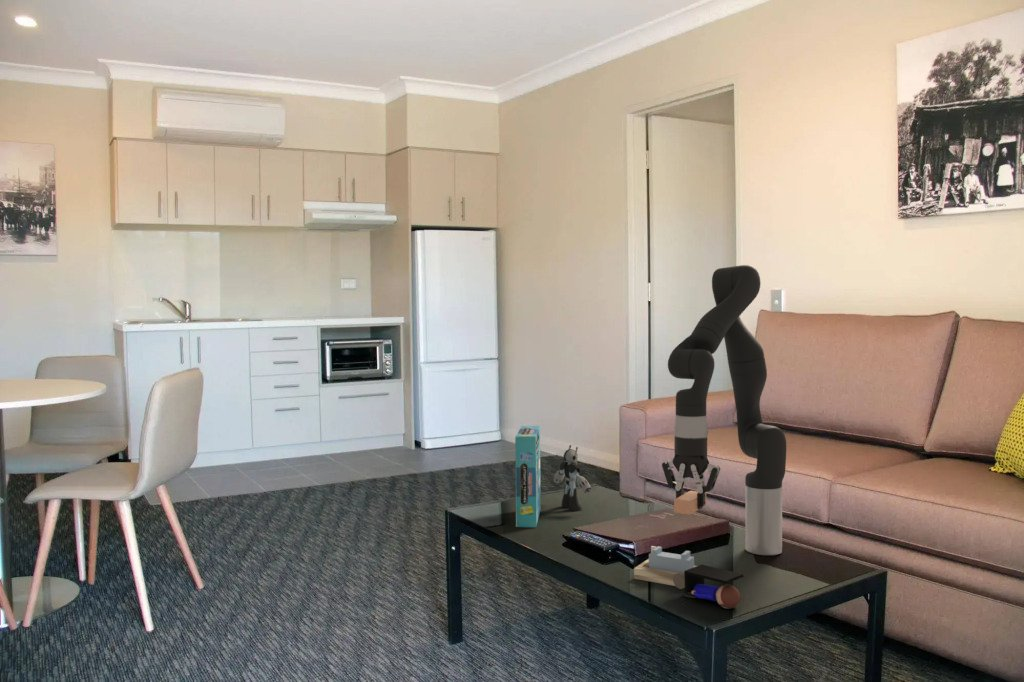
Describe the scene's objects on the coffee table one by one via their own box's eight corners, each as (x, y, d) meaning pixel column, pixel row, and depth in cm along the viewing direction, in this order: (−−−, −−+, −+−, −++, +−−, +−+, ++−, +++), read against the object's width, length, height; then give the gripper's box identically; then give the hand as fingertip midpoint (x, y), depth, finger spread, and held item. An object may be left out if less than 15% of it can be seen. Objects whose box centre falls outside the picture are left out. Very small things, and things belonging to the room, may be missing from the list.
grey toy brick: (654, 568, 203) (654, 544, 203) (694, 575, 198) (694, 550, 198) (648, 572, 201) (648, 548, 200) (689, 579, 195) (688, 554, 195)
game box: (521, 510, 267) (520, 425, 266) (541, 510, 267) (540, 425, 266) (515, 527, 247) (514, 436, 246) (537, 527, 246) (535, 436, 245)
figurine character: (672, 602, 187) (728, 613, 176) (669, 568, 188) (725, 576, 176) (692, 596, 192) (748, 606, 180) (688, 562, 192) (744, 570, 180)
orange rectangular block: (690, 502, 202) (690, 490, 202) (706, 504, 200) (706, 492, 200) (673, 512, 193) (674, 499, 193) (690, 514, 191) (690, 501, 191)
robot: (548, 503, 277) (548, 442, 276) (561, 501, 279) (560, 441, 278) (582, 515, 260) (581, 451, 259) (595, 513, 262) (594, 449, 261)
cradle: (649, 568, 207) (649, 558, 207) (704, 577, 200) (704, 567, 199) (634, 578, 200) (634, 568, 199) (690, 588, 192) (690, 577, 192)
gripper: (656, 434, 196) (655, 507, 197) (715, 438, 189) (715, 514, 190) (667, 430, 203) (667, 500, 204) (725, 434, 196) (725, 507, 196)
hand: (690, 506), depth 197 cm, fingers closed on orange rectangular block, 4 cm apart
